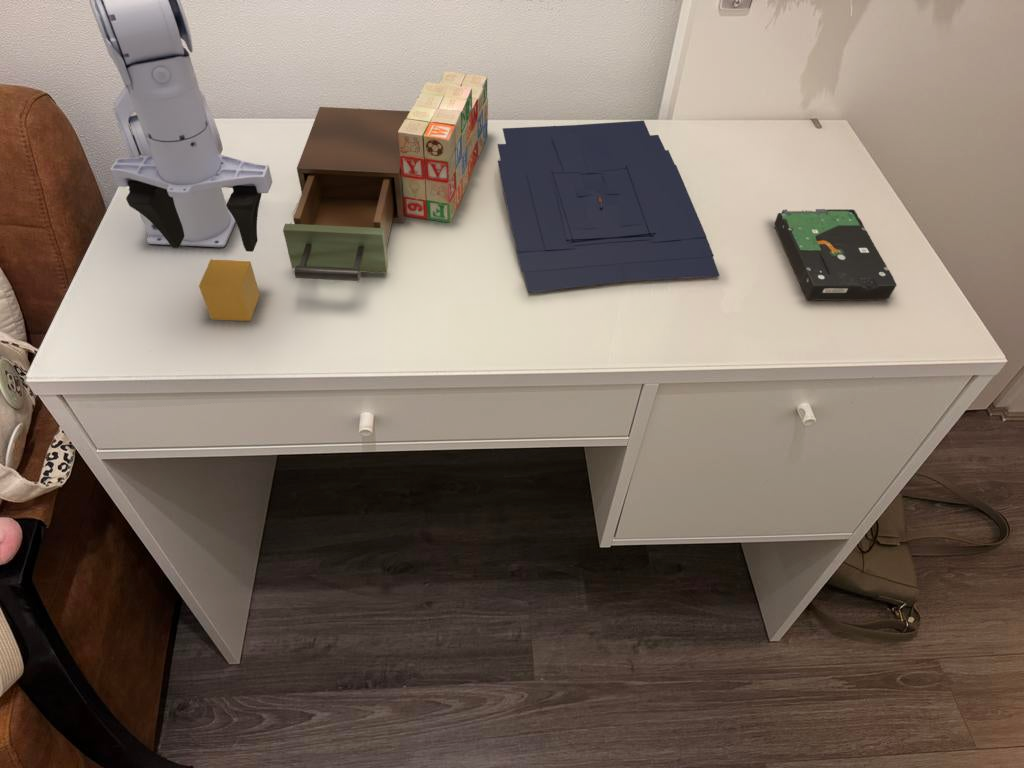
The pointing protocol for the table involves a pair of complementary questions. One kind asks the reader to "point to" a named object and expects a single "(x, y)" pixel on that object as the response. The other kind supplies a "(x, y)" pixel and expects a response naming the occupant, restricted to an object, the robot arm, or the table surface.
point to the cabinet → (355, 147)
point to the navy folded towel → (599, 207)
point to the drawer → (341, 227)
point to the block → (230, 290)
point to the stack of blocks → (442, 144)
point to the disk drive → (834, 255)
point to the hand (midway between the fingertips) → (215, 243)
